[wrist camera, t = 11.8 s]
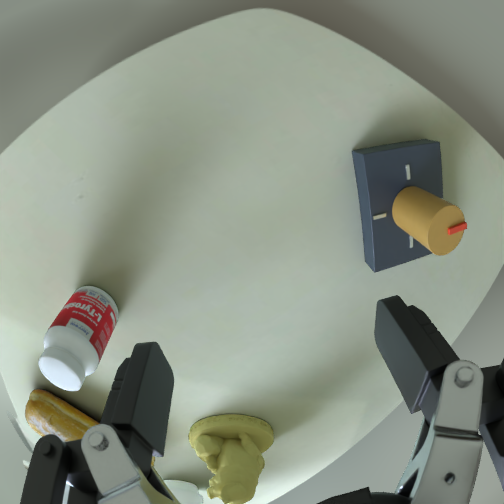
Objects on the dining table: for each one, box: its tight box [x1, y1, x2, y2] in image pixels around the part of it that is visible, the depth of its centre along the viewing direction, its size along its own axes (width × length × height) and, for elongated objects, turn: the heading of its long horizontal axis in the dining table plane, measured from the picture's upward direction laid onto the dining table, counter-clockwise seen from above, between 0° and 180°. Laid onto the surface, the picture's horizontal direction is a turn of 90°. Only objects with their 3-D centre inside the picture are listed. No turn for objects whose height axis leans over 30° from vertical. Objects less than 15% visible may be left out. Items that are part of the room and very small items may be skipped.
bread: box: [25, 389, 155, 466], centre depth 38 cm, size 13×26×8 cm, turn 51°
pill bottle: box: [38, 286, 118, 391], centre depth 25 cm, size 6×6×11 cm
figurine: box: [189, 414, 274, 504], centre depth 36 cm, size 15×14×15 cm
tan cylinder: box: [392, 186, 467, 255], centre depth 22 cm, size 4×4×6 cm
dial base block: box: [352, 139, 443, 272], centre depth 26 cm, size 12×9×3 cm
